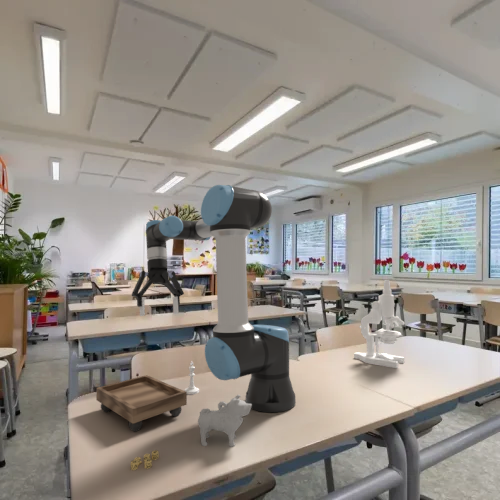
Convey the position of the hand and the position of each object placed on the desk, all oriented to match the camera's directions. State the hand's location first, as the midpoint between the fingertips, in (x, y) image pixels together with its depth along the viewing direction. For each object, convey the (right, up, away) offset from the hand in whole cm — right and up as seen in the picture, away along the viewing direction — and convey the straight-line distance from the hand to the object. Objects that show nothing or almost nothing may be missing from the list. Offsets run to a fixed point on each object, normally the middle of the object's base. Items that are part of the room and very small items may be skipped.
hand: (159, 314), depth 131 cm
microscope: (+89, -24, +18) cm, 94 cm away
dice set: (+12, -22, -57) cm, 62 cm away
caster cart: (+3, -22, -32) cm, 39 cm away
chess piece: (+15, -23, -16) cm, 31 cm away
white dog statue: (+28, -21, -48) cm, 59 cm away
